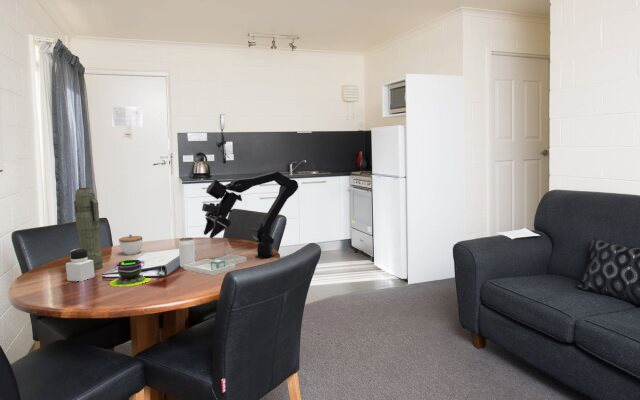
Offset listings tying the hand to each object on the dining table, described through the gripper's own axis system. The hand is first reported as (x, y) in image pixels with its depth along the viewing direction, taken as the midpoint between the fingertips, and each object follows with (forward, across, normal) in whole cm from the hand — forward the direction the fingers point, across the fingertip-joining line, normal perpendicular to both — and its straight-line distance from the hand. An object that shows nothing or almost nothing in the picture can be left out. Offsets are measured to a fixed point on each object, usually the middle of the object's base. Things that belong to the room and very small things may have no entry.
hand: (207, 236), depth 201 cm
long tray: (+12, +8, +6) cm, 15 cm away
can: (+15, -4, +1) cm, 16 cm away
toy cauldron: (+30, +6, -19) cm, 36 cm away
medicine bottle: (+39, -10, -32) cm, 52 cm away
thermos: (+36, -26, -29) cm, 53 cm away
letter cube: (+10, +13, +7) cm, 18 cm away
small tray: (+5, +2, +14) cm, 15 cm away
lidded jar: (+25, -47, -13) cm, 55 cm away
